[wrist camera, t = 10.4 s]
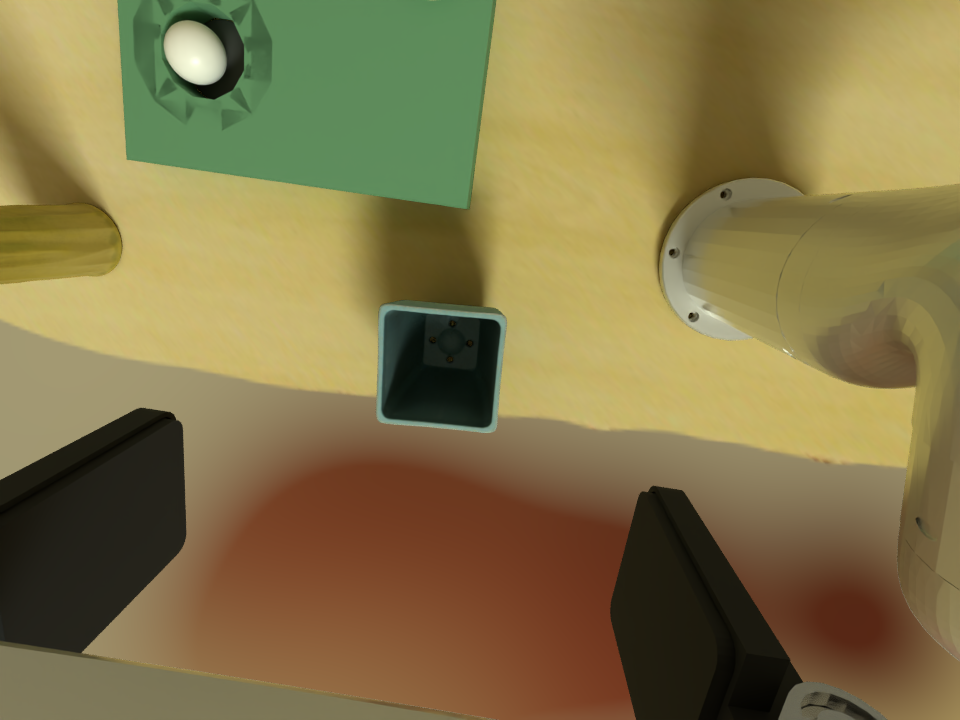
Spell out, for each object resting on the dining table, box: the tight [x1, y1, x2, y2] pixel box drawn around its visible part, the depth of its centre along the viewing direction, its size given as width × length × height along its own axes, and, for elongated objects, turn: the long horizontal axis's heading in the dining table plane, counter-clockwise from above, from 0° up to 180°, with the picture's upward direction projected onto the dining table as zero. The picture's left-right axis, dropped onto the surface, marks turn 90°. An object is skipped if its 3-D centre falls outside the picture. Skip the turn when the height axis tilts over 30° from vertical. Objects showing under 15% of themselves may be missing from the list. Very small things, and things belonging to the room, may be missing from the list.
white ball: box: [164, 20, 227, 85], centre depth 36 cm, size 4×4×4 cm
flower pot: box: [376, 300, 507, 433], centre depth 39 cm, size 9×9×9 cm
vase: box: [0, 203, 122, 284], centre depth 36 cm, size 6×6×14 cm
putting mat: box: [118, 0, 496, 209], centre depth 37 cm, size 26×16×3 cm, turn 82°
